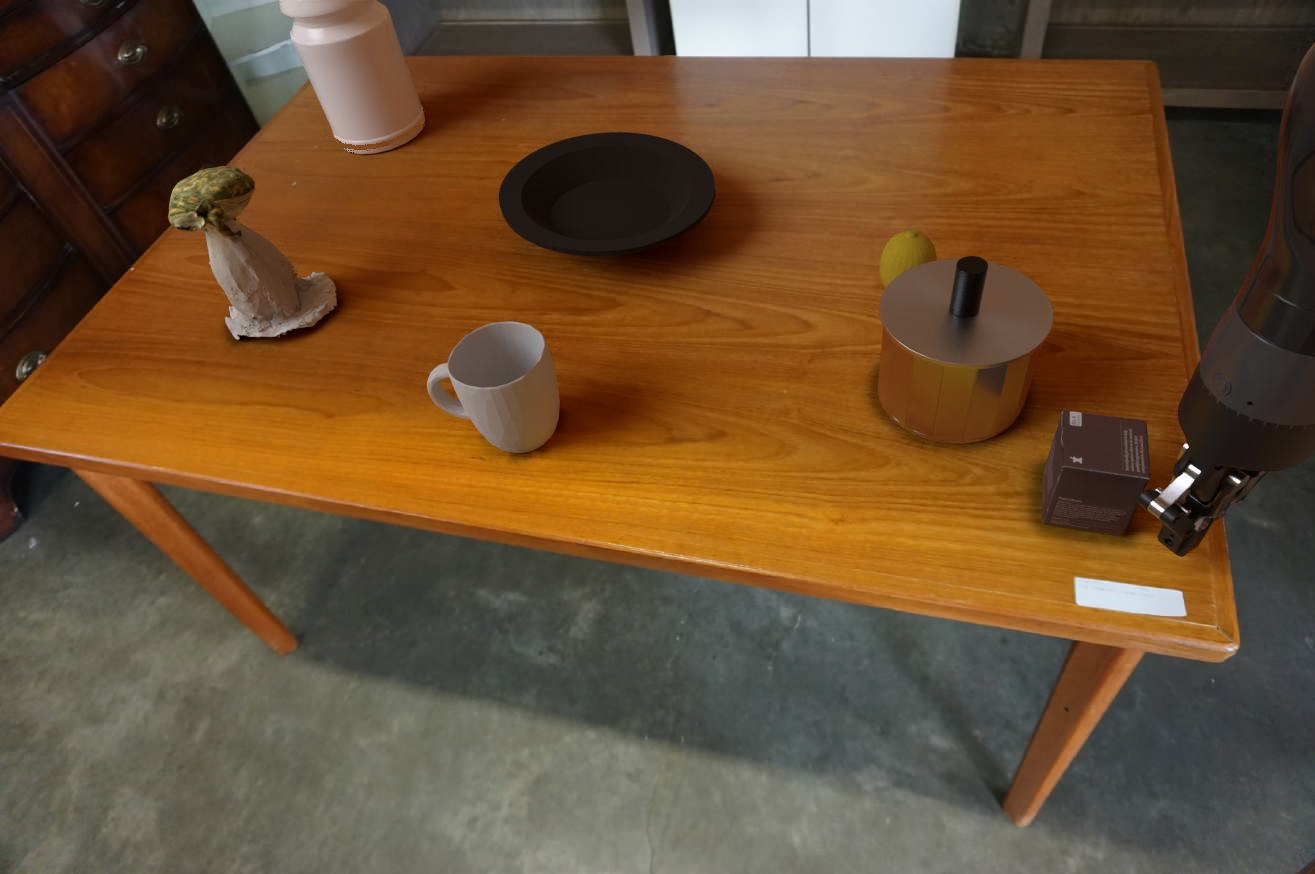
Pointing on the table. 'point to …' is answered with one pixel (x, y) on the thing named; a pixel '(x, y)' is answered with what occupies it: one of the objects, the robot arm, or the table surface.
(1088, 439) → the box
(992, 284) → the pot lid
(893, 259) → the lemon
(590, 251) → the plate
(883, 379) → the pot
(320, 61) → the bottle
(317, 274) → the mushroom
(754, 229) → the table surface
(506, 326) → the mug
